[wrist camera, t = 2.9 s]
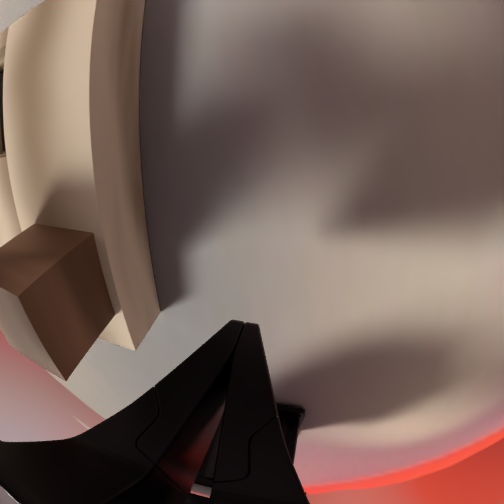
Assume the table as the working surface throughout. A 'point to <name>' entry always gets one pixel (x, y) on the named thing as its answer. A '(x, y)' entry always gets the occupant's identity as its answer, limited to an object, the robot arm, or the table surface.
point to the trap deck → (80, 143)
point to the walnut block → (53, 296)
